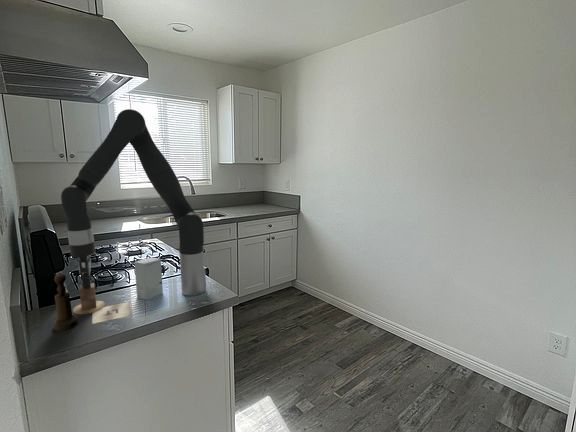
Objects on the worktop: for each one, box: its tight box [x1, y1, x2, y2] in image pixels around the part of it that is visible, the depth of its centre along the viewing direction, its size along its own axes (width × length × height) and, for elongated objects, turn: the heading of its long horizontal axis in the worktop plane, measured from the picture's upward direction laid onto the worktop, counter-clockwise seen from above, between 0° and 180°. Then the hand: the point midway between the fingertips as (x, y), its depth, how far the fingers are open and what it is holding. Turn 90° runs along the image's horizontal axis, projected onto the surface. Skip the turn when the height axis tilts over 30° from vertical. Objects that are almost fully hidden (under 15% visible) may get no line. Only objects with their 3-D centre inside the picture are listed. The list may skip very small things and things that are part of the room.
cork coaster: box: [72, 300, 106, 315], centre depth 119 cm, size 10×10×1 cm
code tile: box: [91, 301, 133, 325], centre depth 115 cm, size 12×12×1 cm
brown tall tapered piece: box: [53, 273, 79, 332], centre depth 104 cm, size 7×6×18 cm
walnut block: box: [78, 282, 97, 311], centre depth 118 cm, size 4×4×8 cm
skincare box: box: [133, 257, 164, 301], centre depth 129 cm, size 8×6×15 cm
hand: (87, 284), depth 117 cm, fingers open, 8 cm apart
